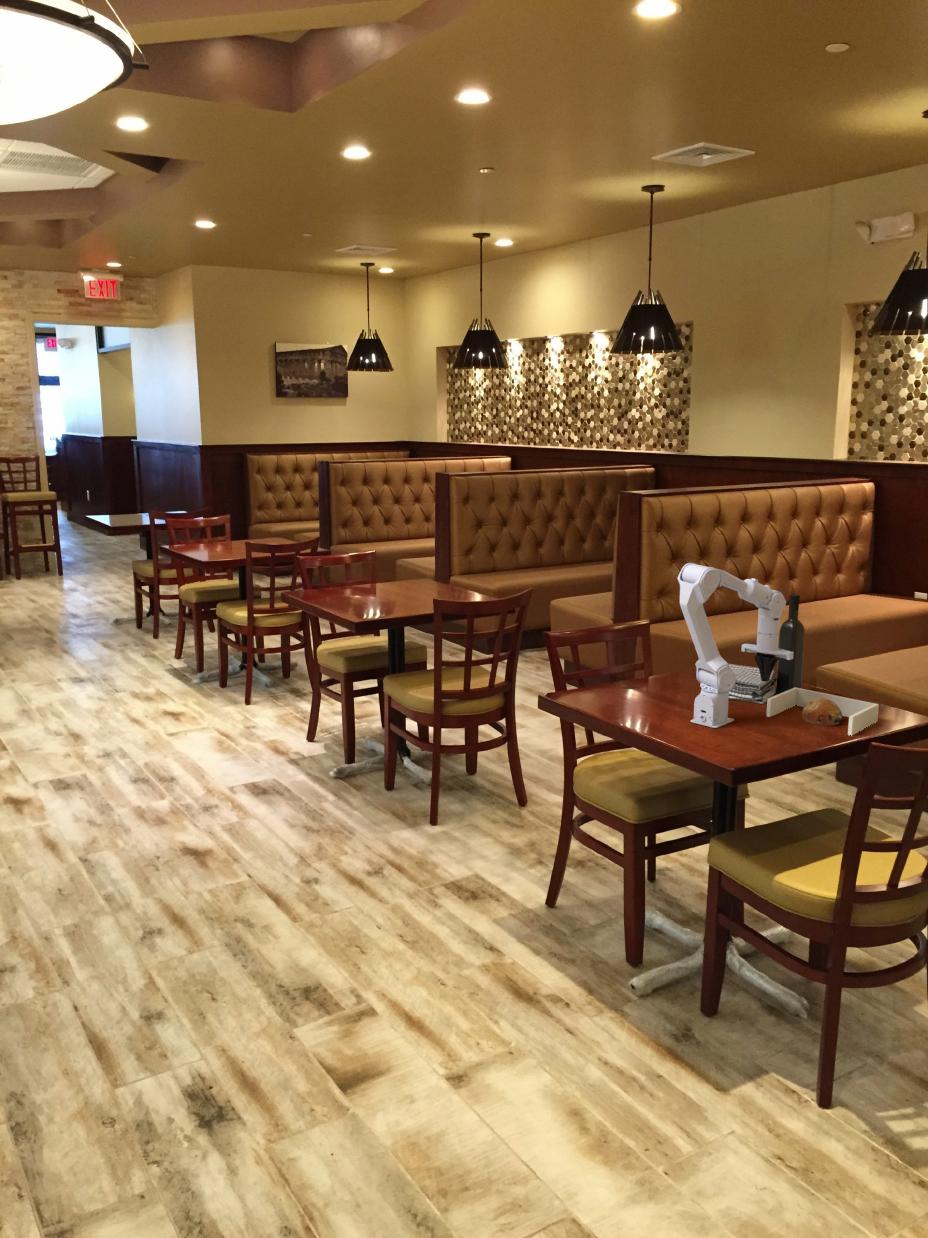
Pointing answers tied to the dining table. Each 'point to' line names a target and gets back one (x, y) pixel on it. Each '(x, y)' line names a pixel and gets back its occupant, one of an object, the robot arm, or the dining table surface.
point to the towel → (751, 685)
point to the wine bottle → (791, 649)
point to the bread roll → (822, 712)
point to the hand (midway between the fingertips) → (765, 680)
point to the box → (856, 710)
